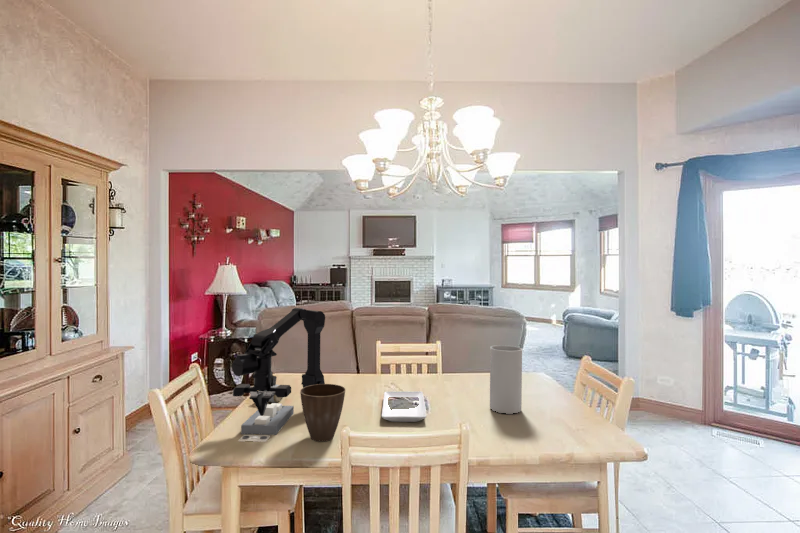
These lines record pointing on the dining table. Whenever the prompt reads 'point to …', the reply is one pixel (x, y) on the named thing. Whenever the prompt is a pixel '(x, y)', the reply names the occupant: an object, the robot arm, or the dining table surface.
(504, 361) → the cylinder vase
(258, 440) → the pattern card
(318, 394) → the plant pot
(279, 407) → the button
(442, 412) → the dining table surface
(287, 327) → the robot arm
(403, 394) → the tray
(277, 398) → the ceramic mug
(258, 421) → the button
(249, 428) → the button board
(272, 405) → the button middle
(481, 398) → the dining table surface
